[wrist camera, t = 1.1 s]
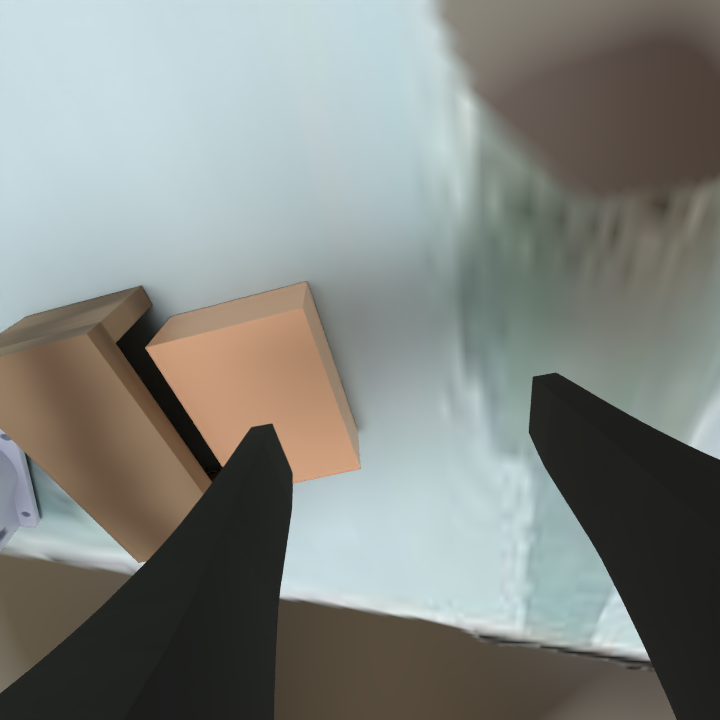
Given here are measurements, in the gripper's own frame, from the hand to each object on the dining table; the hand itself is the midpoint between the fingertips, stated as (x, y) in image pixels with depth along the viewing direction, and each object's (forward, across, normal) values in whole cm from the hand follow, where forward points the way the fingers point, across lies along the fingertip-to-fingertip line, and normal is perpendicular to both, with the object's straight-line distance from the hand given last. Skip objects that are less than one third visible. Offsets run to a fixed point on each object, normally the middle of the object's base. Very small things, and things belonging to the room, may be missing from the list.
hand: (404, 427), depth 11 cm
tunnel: (+10, +13, +4) cm, 17 cm away
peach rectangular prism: (+10, +6, +4) cm, 12 cm away
